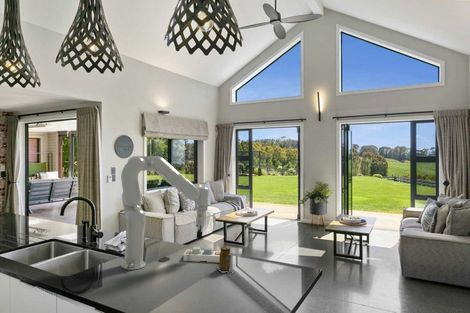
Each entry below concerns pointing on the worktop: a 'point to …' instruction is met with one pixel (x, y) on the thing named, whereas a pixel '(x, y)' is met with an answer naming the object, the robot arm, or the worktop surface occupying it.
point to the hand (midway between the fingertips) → (199, 237)
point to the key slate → (208, 251)
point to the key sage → (196, 250)
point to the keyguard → (201, 256)
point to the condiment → (224, 259)
